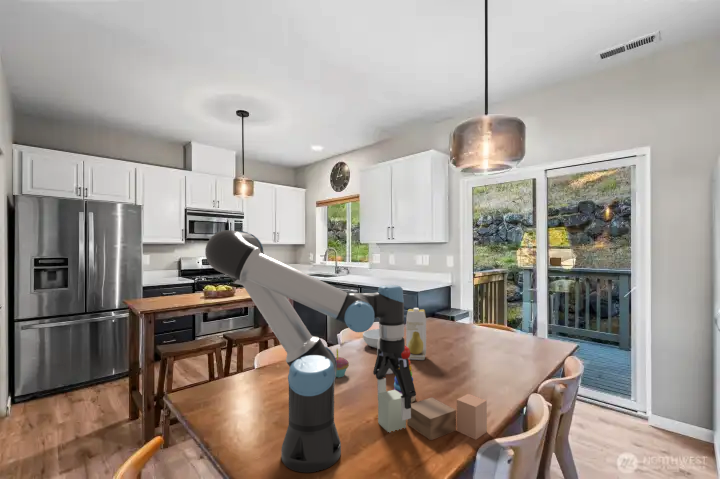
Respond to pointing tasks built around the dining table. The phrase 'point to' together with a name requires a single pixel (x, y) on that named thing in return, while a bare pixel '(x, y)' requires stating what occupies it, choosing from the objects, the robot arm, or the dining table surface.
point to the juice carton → (416, 333)
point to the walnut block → (432, 418)
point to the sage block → (390, 411)
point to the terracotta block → (472, 416)
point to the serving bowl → (371, 337)
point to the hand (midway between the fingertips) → (393, 408)
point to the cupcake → (341, 366)
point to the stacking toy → (406, 355)
